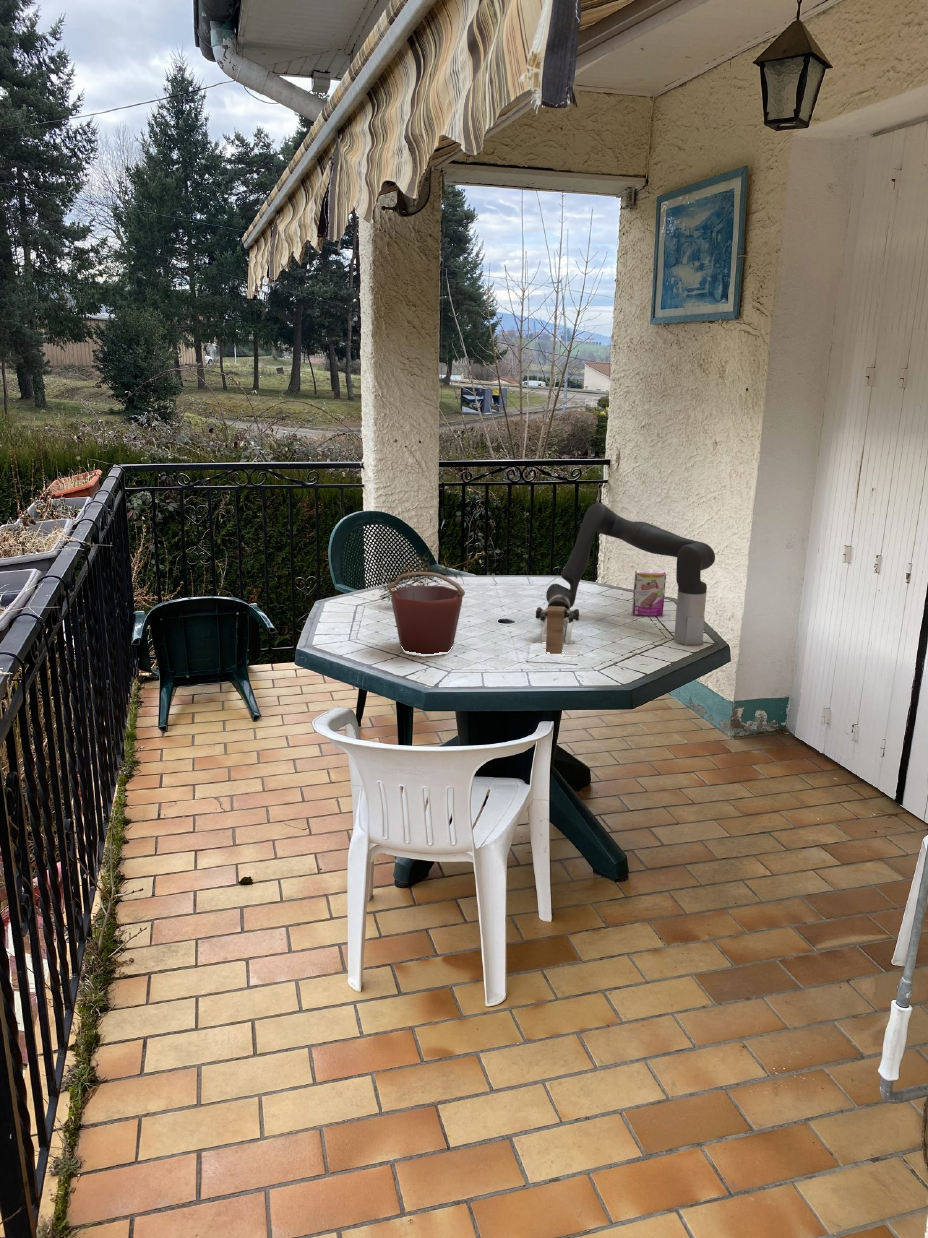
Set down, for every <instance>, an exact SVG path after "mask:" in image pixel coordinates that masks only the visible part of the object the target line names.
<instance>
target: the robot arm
mask: <svg viewBox="0 0 928 1238" xmlns="http://www.w3.org/2000/svg"><path fill="white" fill-rule="evenodd" d="M596 533H598V534H600V535H604V536H607V537H613V538H615V539H618V540H622V541H623V542H625V543H627V544H628V545H631V546H632V547H635V548H636V549H640V550H642V551H644V552H647V553H650V554H653V555H654V554H655V555H660V556H667V557H673V558H676V567H675V568H676V569H675V570H676V571H675V573H676V574H675V575H676V576H675V581H676V583H677V596H676V597H677V598H676V607H675V608H676V609H675V620H674V622H675V623H674V635H673V641H674V642H676V643H678V644H681V645H682V644H683V645H685V646H693V645H703V641H704V640H703V639H704V630H705V619H706V617H705V613H706V602H707V592H708V591H707V589H708V586H707V583H706V582H705V581H702V580H701V574H702V573H701V571H705V570H706V569H710V568H711V567H712V566H713V565H714V563H715V562H716V554H715V551H714V549H713V548H712V547H711V546H710V545H709V544H708V543H705V542H701V541H699V540H695V539H690V538H686V537H683V536H680V535H677V534H676V533H674V532H671V531H669V530H666V529H664V528H661V527H659V526H657V525H654V524H652V523H649V522H646V521H639V520H638V521H632V520H628V519H626V518H624V517H622V516H620V515H618V514H617V513H615V512H614V511H613V510H612V509H611V508H609V507H608V506H607V505H606V504H604V503H602V502H595V503H592V504H591V505H589V507H588V509H587V510H586V512H585V514H584V516H583V520H582V523H581V526H580V530H579V532H578V535H577V539H576V540H575V545H574V547H573V549H572V552H571V554H570V556H569V558H568V561H567V562H566V564H565V565H564V568H563V570H562V573H561V575H560V576H561V578H562V579H563V580H564V581H565V582H566V583H568V584H569V586H570V587H569V588H567V587H566V586H563V585H562V584H559V583H553V584H551V585H549V587H548V588H547V590H546V593H545V594H546V595H545V599H546V601H547V603H548V605H547V607H546V608H545V609H543V608H542V607H541V606H538V607H537V609H535V619H537V620H538V619H540V621H541V622H542V623H545V622H546V619H547V612H548V607H549V606H556V607H564V620H566V621H567V620H569V623H571V622H573V623H574V620H575V621H576V622H578V621H580V609H579V608H575V609H574V610H571V608H572V607H573V606H574V605H575V602H576V597H577V592H578V588H579V584H580V581H581V579H582V577H583V576H584V574H585V571H586V569H587V567H588V564H589V560H590V556H591V554H590V552H591V548H592V547H591V546H592V542H593V539H594V538H595V537H594V536H595V535H596Z"/></svg>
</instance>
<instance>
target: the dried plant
mask: <svg viewBox="0 0 928 1238" xmlns="http://www.w3.org/2000/svg"><path fill="white" fill-rule="evenodd" d="M436 542H437V541H434V540H433V541H432V543H433V544H432V545H431V544H429V546H428V547H429V551H433V548H434V545H435V544H436ZM440 549H441V546H438V547H437V550H436V553H437V552H439V550H440ZM429 551H427V552H426V553H425V554H424V555H423V556H419V555H417V556H415V557H414V559H415V560H414V562H415V564H413V562H412V560H411V559H410V561H409V563H408V562H407V561H406V565H409V566H407V567H406V566H404V568H402V566H403V564H400V567H398V568H399V570H398V568H396V569H397V573H396V574H395V575H393V577H392V576H391V575H390V574H389V575H388V579H387V581H388V582H387V585H383V587H382V589H379V591H381V595H379V597H378V598H377V599H380V600H385V599H387V603H389V602H392V600H391V594H390V593H389V590H388V589H387V586H388V585H389V584H392V583H394V582H395V581H396V579H397V577H399V576H400V575H402V574H406V573H412V572H429V571H430V572H432V573H438V574H439V573H440V572H443V573H444V575H443V576H446V575H447V576H446V577H448V578H449V577H451V576H453V577H454V579H455V580H458V576H457V574H458V575H459V577H462V576H463V575H462V574H461V573H462V572H468V571H467V570H469V569H472V568H471V567H470V568H468V569H466V568H465V567H463V570H462V571H461V570H460V569H459V568H457V573H455V572H454V570H452V569H451V568H454V567H458V566H459V565H463V564H465V563H469V562H470V563H471V564H470V565H471V566H473V563H474V560H475V559H476V560H479V557H480V556H483V557H486V555H487V553H486V552H485V551H483V553H482V554H479V555H478V552H477V553H476V554H475V556H474V558H472V559H470V558H471V557H472V555H469V556H468V558H467V559H468V560H467V561H464V562H462V563H459V564H456V565H453V566H451V564H452V563H451V562H449V563H448V562H447V561H445V560H446V558H447V557H449V554H450V552H451V551H452V546H451V547H450V550H449V551H450V552H448V549H447V555H446V554H445V553H442V554H443V556H444V558H443V560H442V561H441V564H439V566H438V569H439V571H437V570H434V569H435V568H434V565H431V566H430V563H429V562H430V561H431V559H432V558H434V556H432V557H431V559H429V557H426V555H428V553H429ZM489 554H490V555H491V556H492V555H493V554H492V552H491V551H489ZM416 559H417V560H416ZM428 559H429V560H428ZM423 560H425V561H423ZM427 560H428V561H427ZM420 561H421V563H423V564H422V565H421V563H420ZM442 562H444V564H445V565H444V564H442ZM412 564H413V565H412ZM415 565H418V567H417V566H415ZM414 566H415V568H413V567H414ZM425 566H427V567H425ZM440 566H441V567H440ZM442 567H444V568H442ZM449 569H451V571H449ZM446 570H447V571H446ZM473 570H474V569H472V571H473ZM451 572H452V574H451ZM448 574H449V575H448ZM396 576H397V577H396ZM435 578H436V577H435V576H428V575H414V576H407V577H402V579H401V580H400V581H399V582H398V583H397V584H396V585H395V586H394V587H393V588H392V589H391V591H394V590H398V589H401V588H405V587H409V586H413V585H414V584H416V585H415V586H429V584H431V583H435V584H437V585H440V583H441V582H443V580H442V579H440V578H437V579H435ZM429 580H430V581H429ZM438 580H440V581H438ZM410 581H412V582H411V583H408V582H410ZM382 590H383V591H382ZM382 593H383V594H382Z"/></svg>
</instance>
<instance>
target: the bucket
mask: <svg viewBox="0 0 928 1238" xmlns="http://www.w3.org/2000/svg"><path fill="white" fill-rule="evenodd" d="M411 572H412V573H411ZM411 572H409V573H405V574H402V575H401V574H399V575H400V576H399V575H398V576H397V577H396V578H395V579H396V581H395V582H393V583H392V582H391V583H390V584H389V585H388V584H387V585H388V586H387V585H386V586H387V587H386V589H388V592H389V593H390V594H391V595H390V594H389V593H388V594H389V595H390V601H391V600H392V601H391V605H392V612H393V615H394V619H395V625H396V630H397V636H398V642H399V644H401V646H402V647H403V649H404V650H405V651H409V652H416V653H421V654H434V653H439V652H448V651H449V650H450V649H451V647H452V646H453V647H454V643H455V640H456V639H455V638H456V633H457V629H458V625H459V624H458V623H459V618H460V614H461V609H462V604H463V597H464V596H465V594H466V591H465V590H464V589H463V587H462V586H461V585H460V584H459V583H458V582H457V581H455V580H454V579H451V578H449V576H448V577H447V576H446V575H443V574H441V573H439V572H438V573H436V572H435V573H433V571H427V572H426V571H425V572H424V571H421V572H419V571H418V572H417V571H416V572H415V571H411ZM414 575H416V576H417V575H418V576H419V575H420V576H421V575H422V576H424V575H425V576H426V575H428V576H431V577H434V576H435V577H434V578H437V579H439V580H442V581H444V582H446V583H448V584H449V585H451V586H453V587H454V588H451V587H448V586H443V585H428V586H427V585H425V586H422V585H421V586H416V585H412V586H409V587H405V586H404V587H405V588H401V589H398V590H397V589H395V590H393V591H391V590H392V589H393V587H394V586H396V585H397V583H398V582H399V581H400V580H401V579H402V578H403V577H407V576H408V577H409V576H410V577H412V576H414ZM414 577H415V576H414ZM399 583H400V582H399ZM399 583H398V584H399ZM401 646H400V647H401ZM451 650H452V649H451Z"/></svg>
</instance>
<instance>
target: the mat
mask: <svg viewBox="0 0 928 1238" xmlns="http://www.w3.org/2000/svg"><path fill="white" fill-rule="evenodd" d="M543 644H546V643H543ZM564 645H567V646H564ZM575 645H576V646H575ZM577 645H578V644H570V645H569V644H565V643H563V650H566V651H562V652H564V653H550V654H561V655H562V654H565V655H579V656H563V657H572V658H573V657H579V658H580V652H579V651H573V650H581V645H580V646H577ZM543 649H546V648H543ZM569 650H570V651H569ZM571 650H572V651H571ZM565 652H566V653H565ZM567 652H568V653H567ZM578 652H579V653H578ZM546 654H547V653H546ZM568 662H571V661H568ZM572 662H573V661H572Z"/></svg>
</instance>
